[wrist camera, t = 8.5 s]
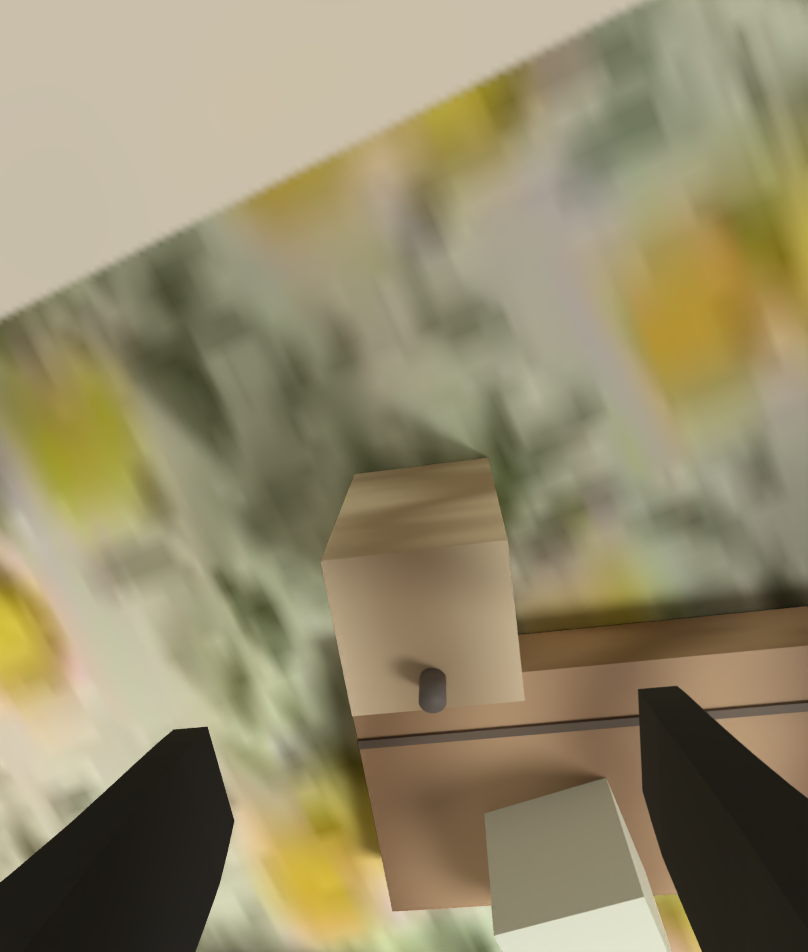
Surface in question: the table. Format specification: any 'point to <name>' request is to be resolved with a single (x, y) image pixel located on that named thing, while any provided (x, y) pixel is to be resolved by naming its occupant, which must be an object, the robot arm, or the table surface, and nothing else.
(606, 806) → the offcut block
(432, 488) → the block
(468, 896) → the plank
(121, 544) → the table surface
